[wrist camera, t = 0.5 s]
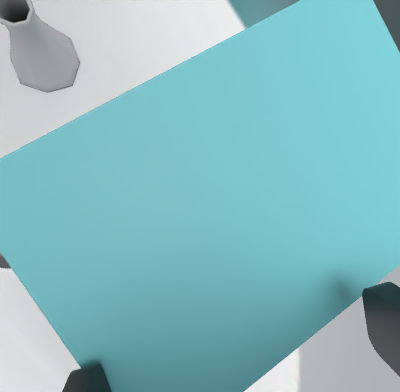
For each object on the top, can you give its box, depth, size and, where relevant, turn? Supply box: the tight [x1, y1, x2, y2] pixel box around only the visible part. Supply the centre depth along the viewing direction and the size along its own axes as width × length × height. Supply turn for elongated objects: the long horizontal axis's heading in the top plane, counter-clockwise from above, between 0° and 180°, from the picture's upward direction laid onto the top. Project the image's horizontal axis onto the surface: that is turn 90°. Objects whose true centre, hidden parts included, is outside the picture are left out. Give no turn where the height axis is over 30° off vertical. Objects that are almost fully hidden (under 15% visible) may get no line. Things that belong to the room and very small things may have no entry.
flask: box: [0, 0, 80, 92], centre depth 30 cm, size 7×7×10 cm
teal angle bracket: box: [0, 0, 400, 392], centre depth 24 cm, size 10×15×28 cm, turn 122°
